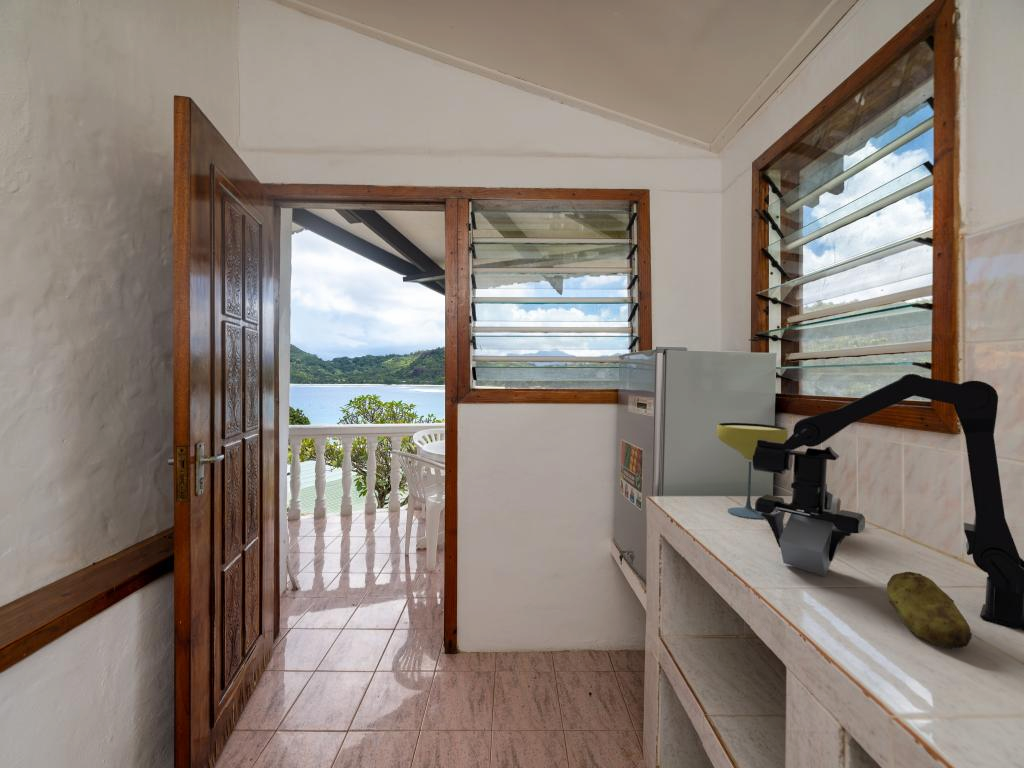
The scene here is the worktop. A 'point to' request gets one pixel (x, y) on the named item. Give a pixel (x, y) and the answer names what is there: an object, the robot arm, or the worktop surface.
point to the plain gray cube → (806, 544)
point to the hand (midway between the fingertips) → (805, 554)
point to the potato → (928, 610)
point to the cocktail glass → (748, 451)
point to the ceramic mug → (833, 506)
